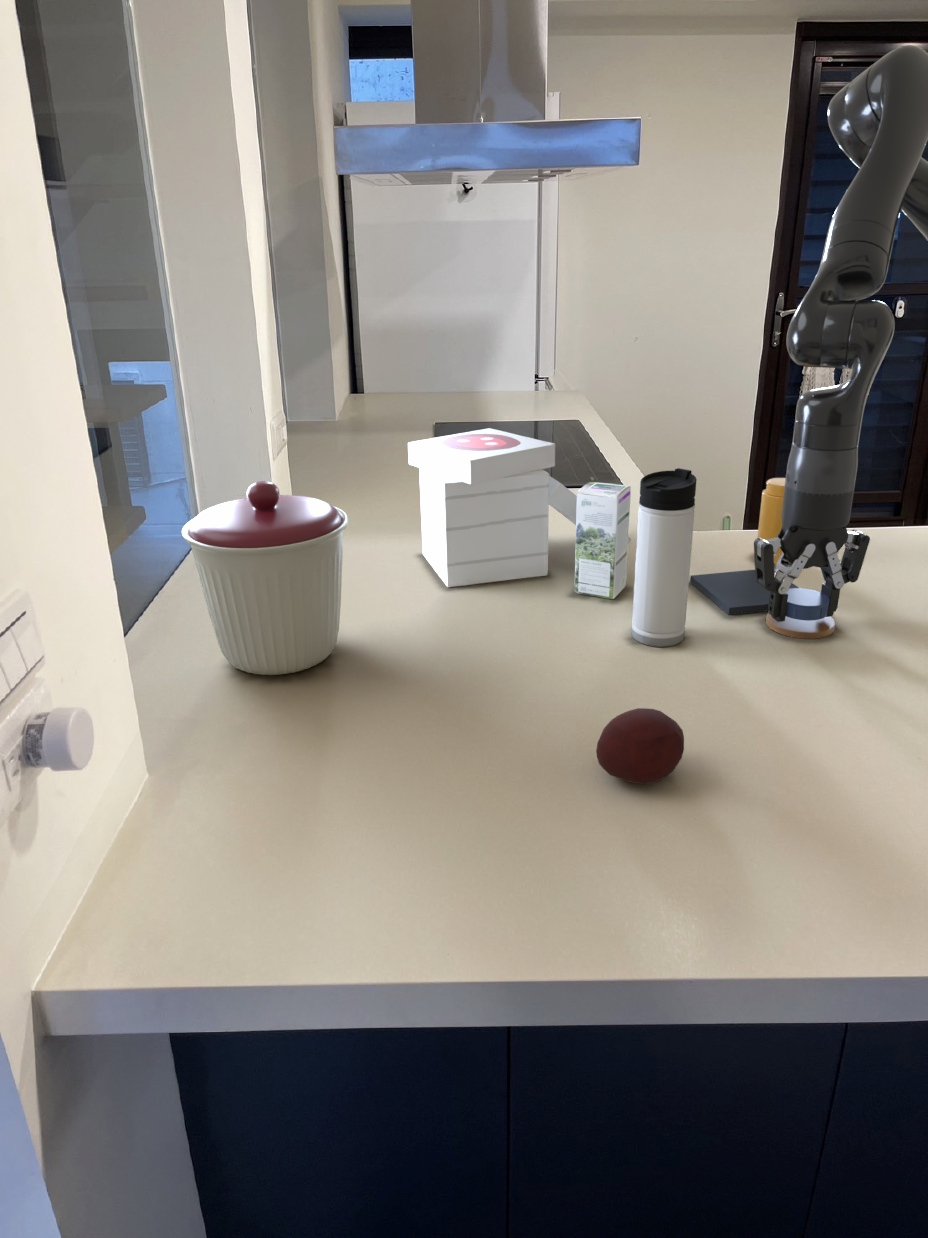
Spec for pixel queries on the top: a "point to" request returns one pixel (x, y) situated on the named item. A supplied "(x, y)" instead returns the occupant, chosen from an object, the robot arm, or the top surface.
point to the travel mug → (663, 557)
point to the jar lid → (806, 604)
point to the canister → (271, 577)
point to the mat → (734, 591)
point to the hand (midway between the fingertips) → (801, 616)
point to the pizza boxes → (487, 505)
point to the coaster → (802, 627)
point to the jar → (771, 511)
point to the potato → (640, 746)
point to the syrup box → (601, 539)
